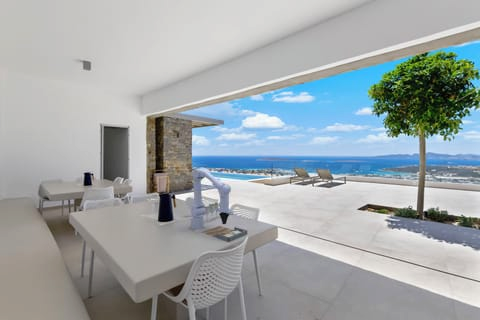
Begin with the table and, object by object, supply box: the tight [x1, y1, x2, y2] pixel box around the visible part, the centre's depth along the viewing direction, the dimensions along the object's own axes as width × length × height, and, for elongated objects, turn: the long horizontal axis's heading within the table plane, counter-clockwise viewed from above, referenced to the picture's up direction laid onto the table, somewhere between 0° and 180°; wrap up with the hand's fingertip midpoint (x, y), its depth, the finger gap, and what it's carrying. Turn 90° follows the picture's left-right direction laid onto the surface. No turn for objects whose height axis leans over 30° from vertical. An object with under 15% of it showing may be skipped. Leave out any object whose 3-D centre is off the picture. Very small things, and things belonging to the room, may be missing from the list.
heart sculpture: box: [185, 196, 204, 220], centre depth 191 cm, size 16×5×18 cm, turn 60°
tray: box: [215, 226, 248, 243], centre depth 148 cm, size 11×18×4 cm, turn 139°
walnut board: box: [201, 225, 234, 238], centre depth 157 cm, size 15×18×1 cm
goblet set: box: [203, 201, 221, 224], centre depth 191 cm, size 28×6×13 cm, turn 144°
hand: (224, 223), depth 149 cm, fingers closed
